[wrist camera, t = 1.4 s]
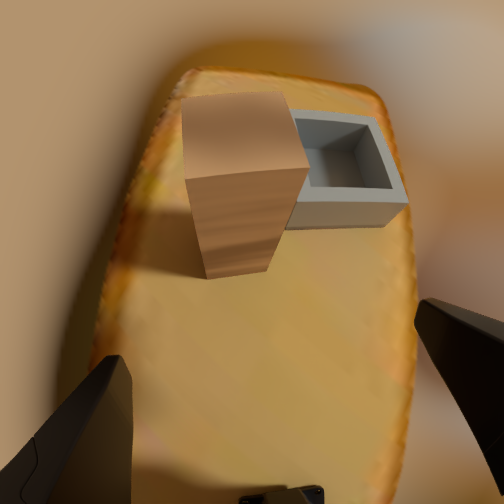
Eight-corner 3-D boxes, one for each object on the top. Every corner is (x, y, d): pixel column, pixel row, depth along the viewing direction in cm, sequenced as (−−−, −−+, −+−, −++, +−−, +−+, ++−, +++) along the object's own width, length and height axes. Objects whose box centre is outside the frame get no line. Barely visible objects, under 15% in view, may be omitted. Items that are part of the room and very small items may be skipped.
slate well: (383, 227, 25) (409, 202, 20) (284, 230, 24) (297, 201, 19) (358, 146, 28) (374, 117, 24) (271, 142, 27) (278, 108, 23)
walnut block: (266, 271, 22) (310, 167, 10) (207, 279, 22) (184, 179, 10) (255, 218, 24) (282, 91, 12) (200, 225, 23) (181, 98, 11)
